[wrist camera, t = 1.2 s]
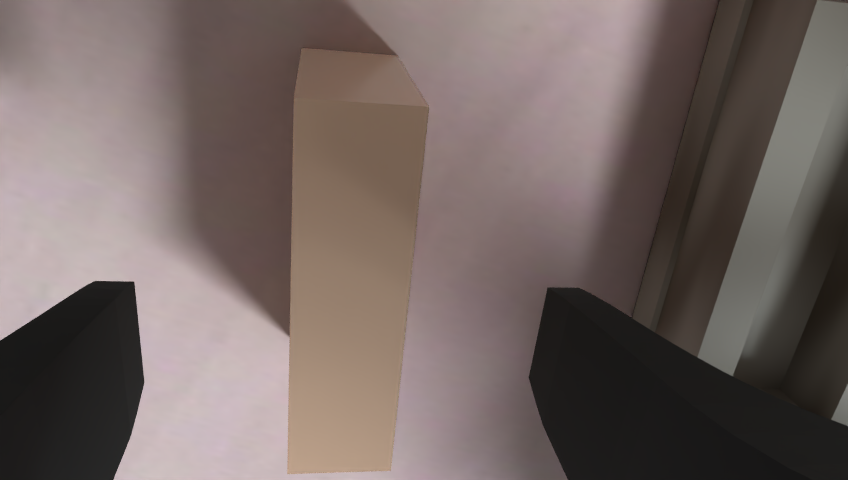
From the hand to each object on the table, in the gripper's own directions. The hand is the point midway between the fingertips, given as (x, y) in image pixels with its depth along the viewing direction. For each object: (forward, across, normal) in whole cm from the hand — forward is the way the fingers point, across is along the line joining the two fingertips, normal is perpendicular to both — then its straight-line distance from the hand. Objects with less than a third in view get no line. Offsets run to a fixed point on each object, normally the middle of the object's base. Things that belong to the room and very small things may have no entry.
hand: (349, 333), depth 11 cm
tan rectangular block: (+6, 0, 0) cm, 6 cm away
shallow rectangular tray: (+6, -12, 0) cm, 13 cm away
